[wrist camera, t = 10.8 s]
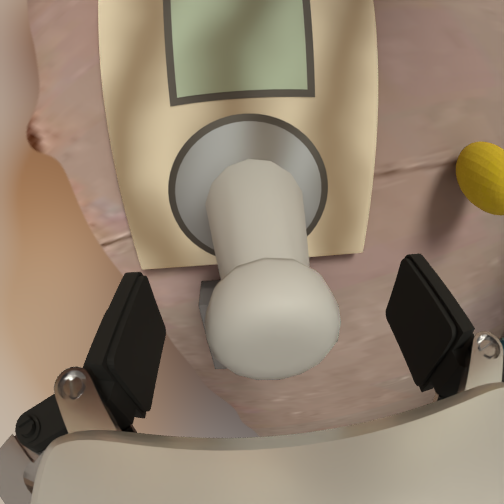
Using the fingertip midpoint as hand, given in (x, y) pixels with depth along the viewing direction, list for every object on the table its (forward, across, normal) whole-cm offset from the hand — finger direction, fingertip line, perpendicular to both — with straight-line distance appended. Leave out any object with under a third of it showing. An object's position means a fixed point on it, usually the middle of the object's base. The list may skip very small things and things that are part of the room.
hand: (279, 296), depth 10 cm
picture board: (+12, +1, -5) cm, 13 cm away
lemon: (+12, -18, -2) cm, 22 cm away
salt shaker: (+11, +1, 0) cm, 11 cm away
